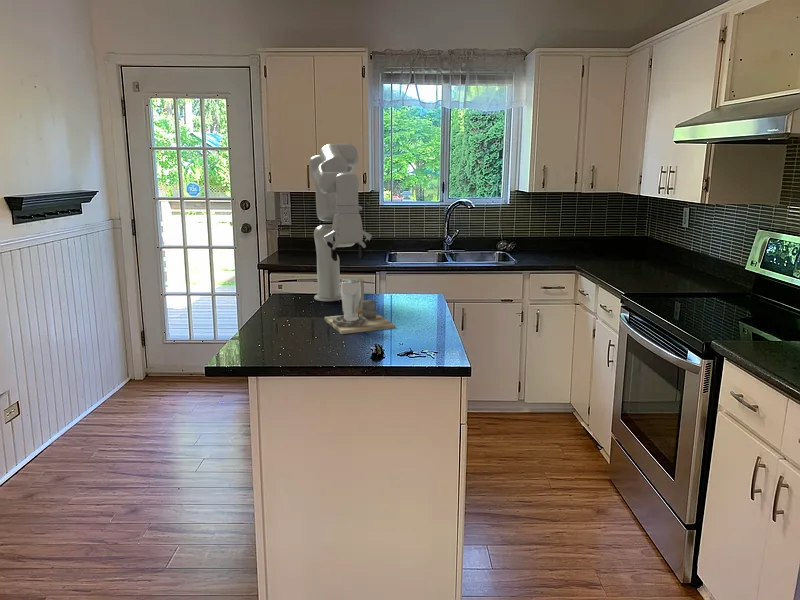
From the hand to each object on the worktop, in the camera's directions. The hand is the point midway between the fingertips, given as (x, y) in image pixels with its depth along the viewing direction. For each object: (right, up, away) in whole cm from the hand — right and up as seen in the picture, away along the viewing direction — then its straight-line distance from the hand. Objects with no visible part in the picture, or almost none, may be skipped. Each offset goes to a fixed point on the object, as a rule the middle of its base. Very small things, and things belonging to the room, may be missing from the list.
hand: (348, 259), depth 206 cm
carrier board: (+3, -23, +7) cm, 24 cm away
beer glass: (+1, -22, +5) cm, 23 cm away
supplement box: (0, -19, +25) cm, 32 cm away
